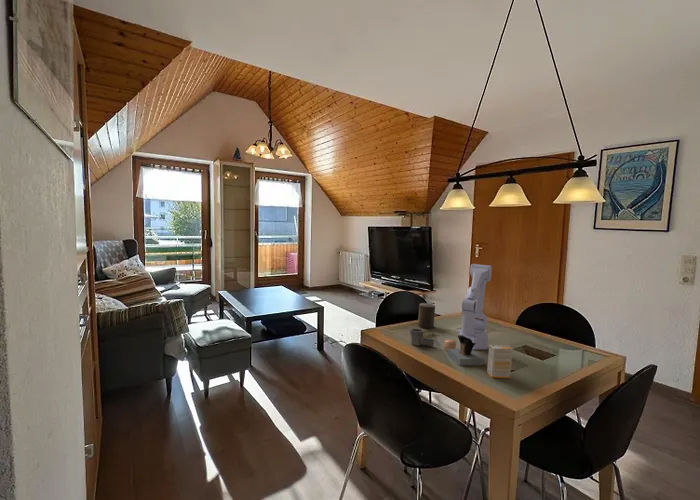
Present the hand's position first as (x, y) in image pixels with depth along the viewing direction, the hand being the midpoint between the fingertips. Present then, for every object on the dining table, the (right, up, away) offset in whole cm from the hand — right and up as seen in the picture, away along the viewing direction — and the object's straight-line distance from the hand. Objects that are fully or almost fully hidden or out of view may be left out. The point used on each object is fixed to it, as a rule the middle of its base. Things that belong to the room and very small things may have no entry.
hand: (465, 352), depth 160 cm
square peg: (0, -2, 0) cm, 2 cm away
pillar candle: (-8, +1, +51) cm, 51 cm away
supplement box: (+8, -6, -15) cm, 18 cm away
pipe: (-18, -2, +17) cm, 25 cm away
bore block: (0, -4, 0) cm, 4 cm away
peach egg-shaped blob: (-4, -3, +12) cm, 13 cm away
